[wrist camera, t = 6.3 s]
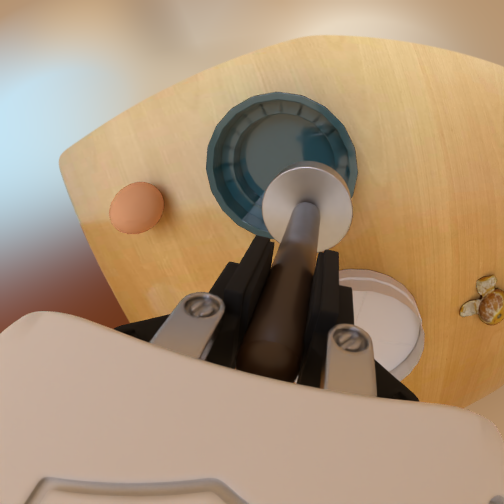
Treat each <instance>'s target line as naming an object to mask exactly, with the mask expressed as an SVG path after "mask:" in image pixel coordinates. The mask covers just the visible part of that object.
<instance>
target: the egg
mask: <svg viewBox="0 0 504 504" xmlns="http://www.w3.org/2000/svg"><path fill="white" fill-rule="evenodd" d="M163 210H164V201H163V197H162V195H161V193H160V191H159V190H158V189H157V188H156V187H155V186H153V185H151V184H149V183H145V182H136V183H132V184H130V185H128V186H126V187H124V188H123V189H121V190H120V191H119V192H118V193H117V194H116V196H115V198H114V199H113V201H112V203H111V206H110V210H109V216H110V220H111V223H112V225H113V226H114V227H115V228H116V229H117V230H118V231H120V232H123V233H127V234H139V233H142V232H145V231H147V230H149V229H150V228H152V227H153V226H154V225H155V224H156V223H157V222H158V221H159V219H160V218H161V216H162V213H163Z"/></svg>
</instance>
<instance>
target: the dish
mask: <svg viewBox="0 0 504 504" xmlns="http://www.w3.org/2000/svg"><path fill="white" fill-rule="evenodd" d="M339 285H342V286H347V287H351V288H352V292H353V308H354V325H355V326H358V327H360V328H362V329H363V330H365V331H366V332H367V333H368V334H369V336H370V337H371V339H372V342H373V351H374V359H375V360H376V361H377V362H378V363H380V364H381V365H382V366H383V367H384V368H385V369H386V370H387V371H389V372H390V373H391V374H392V375H393V376H394V377H395V378H397V379H398V380H399V381H401V380H402V379H404V378H405V377H406V376H407V375H409V374H410V372H411V371H412V370H413V368H414V367H415V366H416V365H417V363H418V362H419V360H420V357H421V354H422V352H423V349H424V331H423V328H422V319H421V316H420V313H419V311H418V308H417V305H416V302H415V299H414V297H413V296H412V295H411V293H410V292H409V291H408V290H407V289H406V287H405V286H404V285H403V284H401V283H399V282H398V281H396V280H395V279H393V278H392V277H390V276H388V275H385V274H382V273H378V272H375V271H372V270H361V269H346V270H341V271H339ZM297 378H298V376H297ZM297 378H296V380H295V383H296V384H297Z"/></svg>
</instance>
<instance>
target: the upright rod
mask: <svg viewBox="0 0 504 504" xmlns="http://www.w3.org/2000/svg"><path fill="white" fill-rule="evenodd" d="M262 216H263V220H264V223H265V226H266V227H267V229H268V231H269V233H270V234H271V235H272V237H273V238H274V239H275V240H276V241H277V242H278V243H280V246H279V248H278V251H277V254H276V256H275V259H274V262H273V264H272V267H271V269H270V272H269V275H268V277H267V280H266V282H265V285H264V287H263V290H262V293H261V295H260V298H259V300H258V303H257V305H256V308H255V310H254V313H253V315H252V318H251V320H250V323H249V325H248V328H247V330H246V333H245V335H244V338H243V340H242V343H241V345H240V348H239V350H238V353H237V357H236V360H235V361H236V370H240V371H243V372H247V373H251V374H255V375H260V376H264V377H268V378H272V379H277V380H281V381H286V382H290V383H294V382H295V380H296V378H297V376H298V374H299V371H300V367H301V361H302V355H303V349H304V342H303V341H304V335H305V328H306V322H307V316H308V309H309V302H310V296H311V288H312V281H313V275H314V271H315V264H316V256H317V253H319V252H323V251H325V249H326V250H328V249H330V248H332V247H333V246H335V245H336V244H338V243H339V242H340V241H341V240H342V239H343V238H344V237H345V235H346V234H347V232H348V230H349V228H350V225H351V222H352V217H353V206H352V201H351V197H350V193H349V189H348V187H347V184H346V183H345V181H344V179H343V178H342V177H341V176H340V174H338V173H337V172H336V171H335V170H334V169H333V168H331V167H329V166H327V165H325V164H323V163H319V162H315V161H301V162H297V163H294V164H291V165H289V166H287V167H286V168H284V169H283V170H282V171H280V172H279V174H278V175H277V176H276V177H275V178H274V179H273V181H272V182H271V183H270V185H269V186H268V187H267V189H266V191H265V194H264V197H263V201H262Z"/></svg>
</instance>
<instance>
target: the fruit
mask: <svg viewBox="0 0 504 504" xmlns="http://www.w3.org/2000/svg"><path fill="white" fill-rule="evenodd" d="M496 282H497V279H496V277H495V276H494V275H491V276H489V277H483V278H481V279H479V280H477V285H476V287H477V289H478V293H479V294H481V295H482V296H483V297H482V299H481V300H473V301H469V302H467V303H465V304H464V305H463V306H462V308H461V310H460V316H461V317H466V316H471V315H474V314H478V315H479V318H480V320H481V321H482V322H484V323H485V324H488V325H496V324H498V323H499V322H501V321H502V320H503V319H504V292H503V291H502V290H499V289H498V288H496V289H494V286H495V284H496Z"/></svg>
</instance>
